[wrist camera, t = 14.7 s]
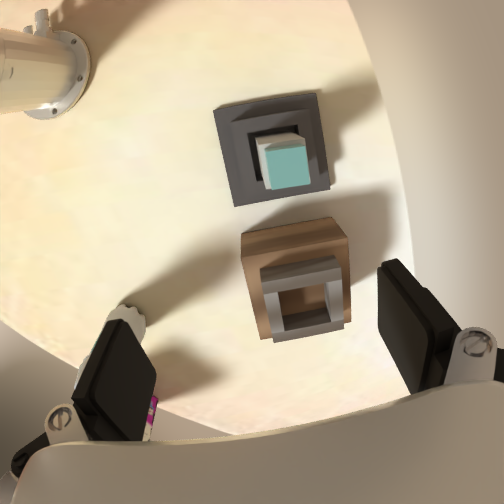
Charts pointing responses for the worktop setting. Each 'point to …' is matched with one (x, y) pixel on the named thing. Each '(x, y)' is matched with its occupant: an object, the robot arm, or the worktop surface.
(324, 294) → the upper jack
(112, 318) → the bottle
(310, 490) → the robot arm
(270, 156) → the plug
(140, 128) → the worktop surface
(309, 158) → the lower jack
